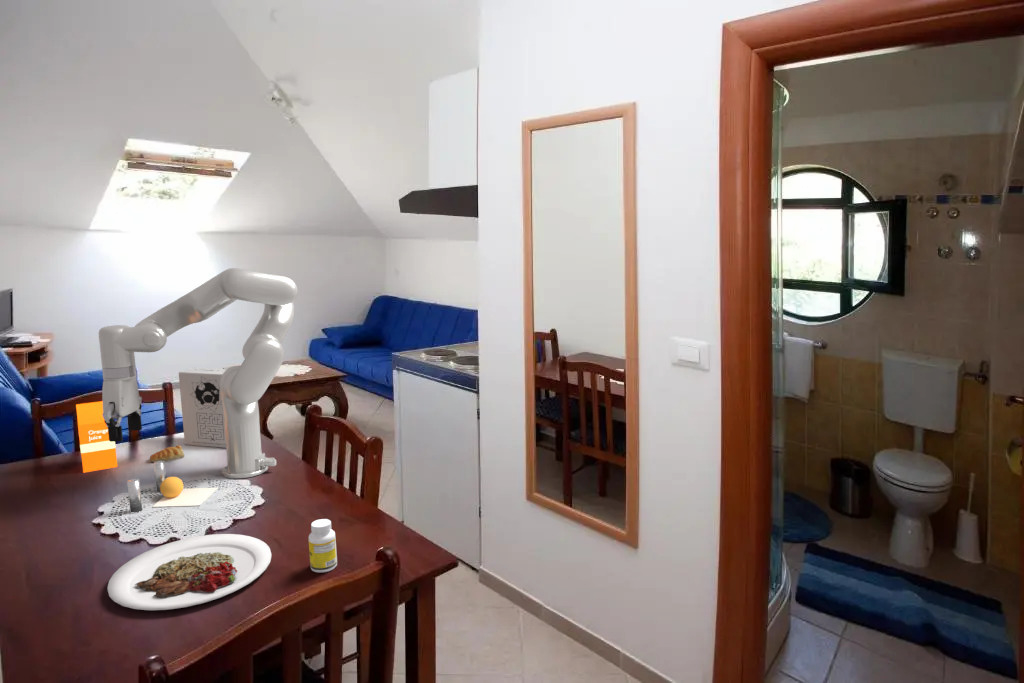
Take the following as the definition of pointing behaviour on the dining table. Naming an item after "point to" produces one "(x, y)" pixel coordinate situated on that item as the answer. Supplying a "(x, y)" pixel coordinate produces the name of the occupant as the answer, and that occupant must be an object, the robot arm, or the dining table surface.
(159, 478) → the post right
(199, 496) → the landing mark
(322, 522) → the supplement bottle
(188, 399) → the cereal box
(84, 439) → the orange juice
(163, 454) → the pastry
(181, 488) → the ball
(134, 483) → the post left
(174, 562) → the plated food
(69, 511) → the dining table surface
